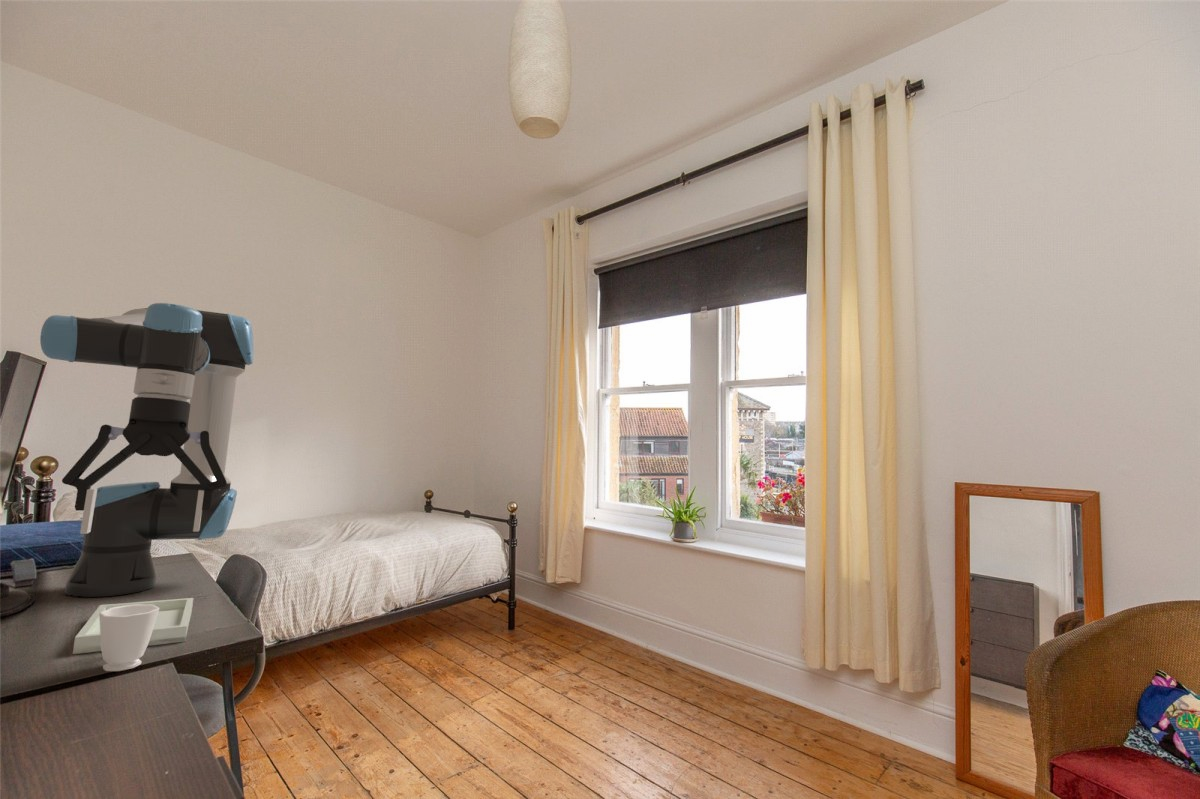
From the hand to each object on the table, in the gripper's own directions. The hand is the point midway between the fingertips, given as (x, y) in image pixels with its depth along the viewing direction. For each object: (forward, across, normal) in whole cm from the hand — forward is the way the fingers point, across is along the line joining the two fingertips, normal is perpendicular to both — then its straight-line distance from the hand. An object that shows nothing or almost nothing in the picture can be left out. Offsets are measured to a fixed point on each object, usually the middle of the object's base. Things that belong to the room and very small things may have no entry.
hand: (143, 532), depth 87 cm
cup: (+19, 0, -1) cm, 19 cm away
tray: (+19, 0, +16) cm, 24 cm away
